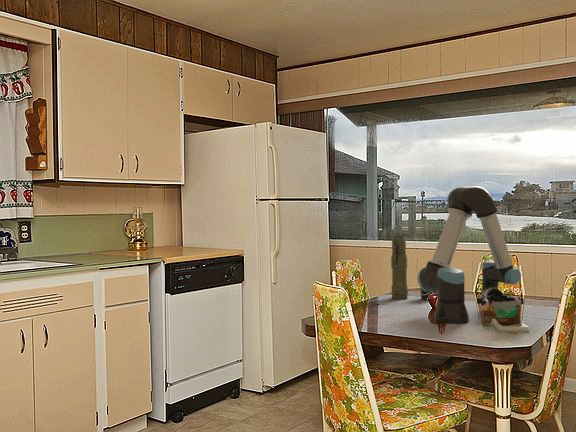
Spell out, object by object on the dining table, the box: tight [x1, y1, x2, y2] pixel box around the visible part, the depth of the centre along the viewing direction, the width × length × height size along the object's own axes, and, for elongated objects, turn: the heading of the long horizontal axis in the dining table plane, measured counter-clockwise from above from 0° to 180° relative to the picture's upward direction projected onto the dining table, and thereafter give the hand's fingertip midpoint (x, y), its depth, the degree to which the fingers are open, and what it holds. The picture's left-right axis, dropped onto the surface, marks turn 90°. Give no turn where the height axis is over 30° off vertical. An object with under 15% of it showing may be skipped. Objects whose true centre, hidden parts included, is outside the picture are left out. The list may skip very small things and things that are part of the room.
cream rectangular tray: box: [490, 319, 530, 333], centre depth 249 cm, size 12×16×2 cm
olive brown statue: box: [390, 235, 409, 301], centre depth 328 cm, size 9×12×35 cm
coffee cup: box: [419, 286, 432, 301], centre depth 325 cm, size 10×10×15 cm
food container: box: [491, 300, 522, 325], centre depth 250 cm, size 12×6×10 cm, turn 51°
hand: (503, 304), depth 259 cm, fingers open, 13 cm apart
